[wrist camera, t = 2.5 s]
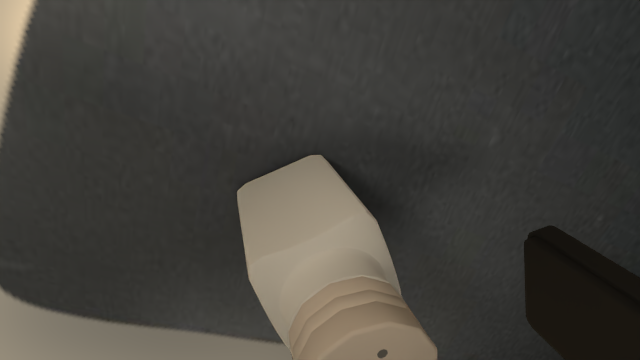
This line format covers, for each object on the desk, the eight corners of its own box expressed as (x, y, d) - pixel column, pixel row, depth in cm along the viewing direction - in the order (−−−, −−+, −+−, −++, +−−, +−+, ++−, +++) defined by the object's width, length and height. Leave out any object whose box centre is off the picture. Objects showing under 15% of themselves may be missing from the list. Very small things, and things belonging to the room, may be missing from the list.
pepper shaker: (320, 145, 17) (436, 277, 8) (348, 221, 18) (470, 398, 10) (230, 184, 16) (252, 366, 8) (268, 258, 18) (320, 474, 9)
